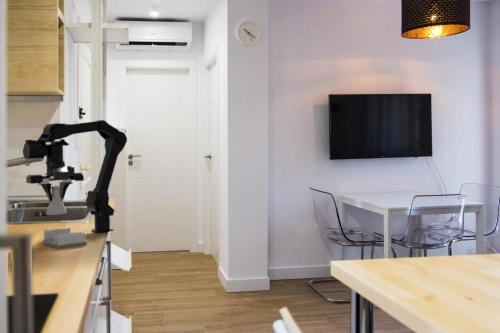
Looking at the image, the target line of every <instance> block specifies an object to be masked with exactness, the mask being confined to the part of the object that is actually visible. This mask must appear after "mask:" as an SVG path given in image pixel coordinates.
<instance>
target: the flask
mask: <svg viewBox="0 0 500 333" xmlns="http://www.w3.org/2000/svg"><path fill="white" fill-rule="evenodd" d="M51 194H52V201H51V202H49V203H48V207H47V209H46V212H45V215H50V216H51V215H52V216H55V215H56V216H58V215H65V214H67V213H68V210H67V209H66V207H65V203H64V200H63V201H62V199H61V195H60V185H54V186H52V185H51Z"/></svg>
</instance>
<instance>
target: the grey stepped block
mask: <svg viewBox="0 0 500 333" xmlns="http://www.w3.org/2000/svg"><path fill="white" fill-rule="evenodd" d="M85 233H86V232H82V231H78V232H77V231H75V232H72V231H71V227H65V228H56V229H49V230H43V239H42V243H43V244H45V245H48V246H49V247H52V248H54V249H63V248H71V247H79V246H87V244H88V243H87V241H86V234H85Z"/></svg>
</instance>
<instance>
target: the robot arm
mask: <svg viewBox="0 0 500 333" xmlns="http://www.w3.org/2000/svg"><path fill="white" fill-rule="evenodd" d="M90 132H91V133H93V132H97V133H98V134H99V135H100V137H101V138H102V139H103V140H104V150H105V153H104V157H103V160H102V164H101V167H100V170H99V174H98V177H97V179H96V180H97V181H96V185H95V187H94V188H93V190H88V191H87V195H86V196H87V197H86V198H85V200H84V201H85V206H86V208H87V209H88V210H89V212H90V215H91V216H94V217H93V219H94V220H93V221H94V228H92V229H91V231H92V232H95V233H99V234H100V233H107V232H113V231H114V229H113V228H111V216H114V214H115V209H114V208H113V207H112V206H111V205H110V204H109V201H110V196H109V187H110V185H111V182H112V177H113V174H114V170H115V168H116V163H117V160H118V157H119V154H120V153H121V152H122V151H123V150H124V148H125V146H126V144H127V142H128V137H127V135H126V133H125V132H123V131H120V130H119V129H117V128H116V127H114V126H113V125H111V124H110V123H108V122H107V121H106V120H104V119H98V120H95V121H87V122H78V123H70V124H69V123H60V122H59V123H58V122H56V123H47V124H45V125H44V127H43V130H42V133H41V134H40V136H38V139H37V140H34V139H25V141H24V145H23V148H22V155H23V158H24V159H25V160H44V158H45V157H46V159H45V165H46V173H45V175H42V174H28V175H27V176H26V177H25V178H26V180H25V182H26V184H31V185H32V184H37V185H39V186H41V187H42V189H43V191H44V192H45V195H46V197H47V199H48V201H49V203H50V202H51V201H52V188H51V186H52V183H50V182H53V181H55V182H56V181H59V186H60V195H61V199H62V201H63V202H64V199H65V195H66V192H67V190H68V188H69V187H70V185H71V184H73V183H74V182H72V181H75V182H81V181H85V180H84V178H85V177H84V174H83V173H82V172H76V171H75V166H74V165H67V166H66V163H65V161H64V147H65V146H66V147H67V146H69V145H70V143H68V142H67V141H66V140H65V139H64V138H68V137H69V136H72V135H75V134H76V135H77V134H82V133H83V134H84V133H90Z"/></svg>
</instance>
